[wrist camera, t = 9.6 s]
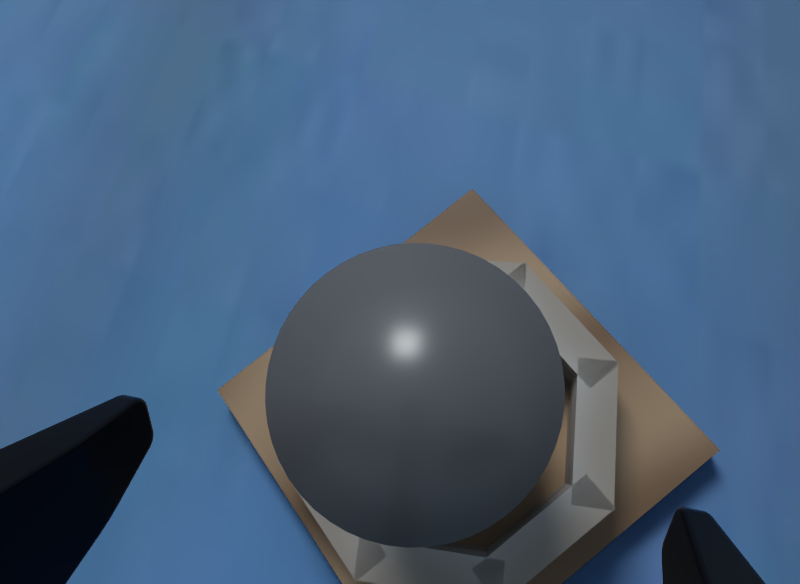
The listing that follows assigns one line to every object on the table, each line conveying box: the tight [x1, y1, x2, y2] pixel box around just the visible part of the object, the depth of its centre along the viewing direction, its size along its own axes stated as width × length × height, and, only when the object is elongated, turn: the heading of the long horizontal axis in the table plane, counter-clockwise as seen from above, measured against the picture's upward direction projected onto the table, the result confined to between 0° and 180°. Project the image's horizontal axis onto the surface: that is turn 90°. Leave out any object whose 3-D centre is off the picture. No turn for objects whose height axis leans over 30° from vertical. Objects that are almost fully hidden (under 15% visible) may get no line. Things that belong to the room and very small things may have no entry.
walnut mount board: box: [218, 189, 719, 584], centre depth 20 cm, size 12×12×3 cm
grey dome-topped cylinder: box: [265, 243, 565, 548], centre depth 16 cm, size 6×6×10 cm
